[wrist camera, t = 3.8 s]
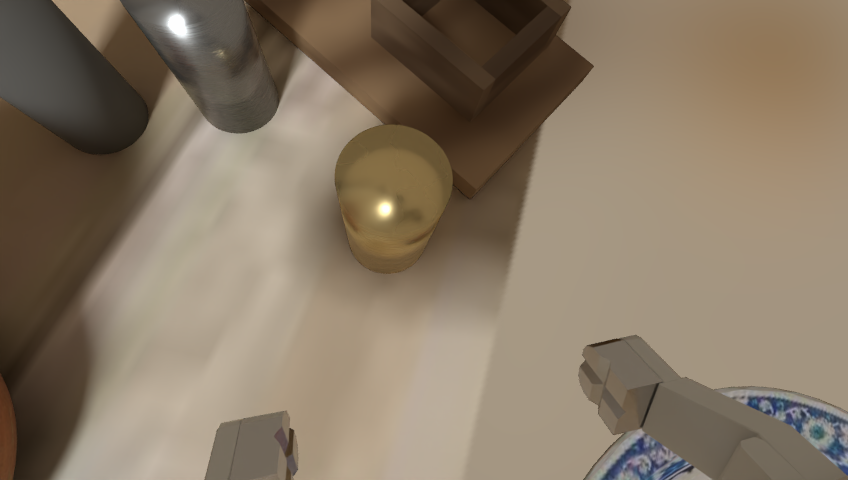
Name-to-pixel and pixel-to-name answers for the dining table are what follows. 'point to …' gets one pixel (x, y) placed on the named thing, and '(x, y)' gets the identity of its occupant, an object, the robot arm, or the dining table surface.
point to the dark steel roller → (212, 58)
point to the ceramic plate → (813, 418)
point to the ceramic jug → (7, 434)
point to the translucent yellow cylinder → (391, 195)
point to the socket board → (443, 68)
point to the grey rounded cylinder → (65, 80)
